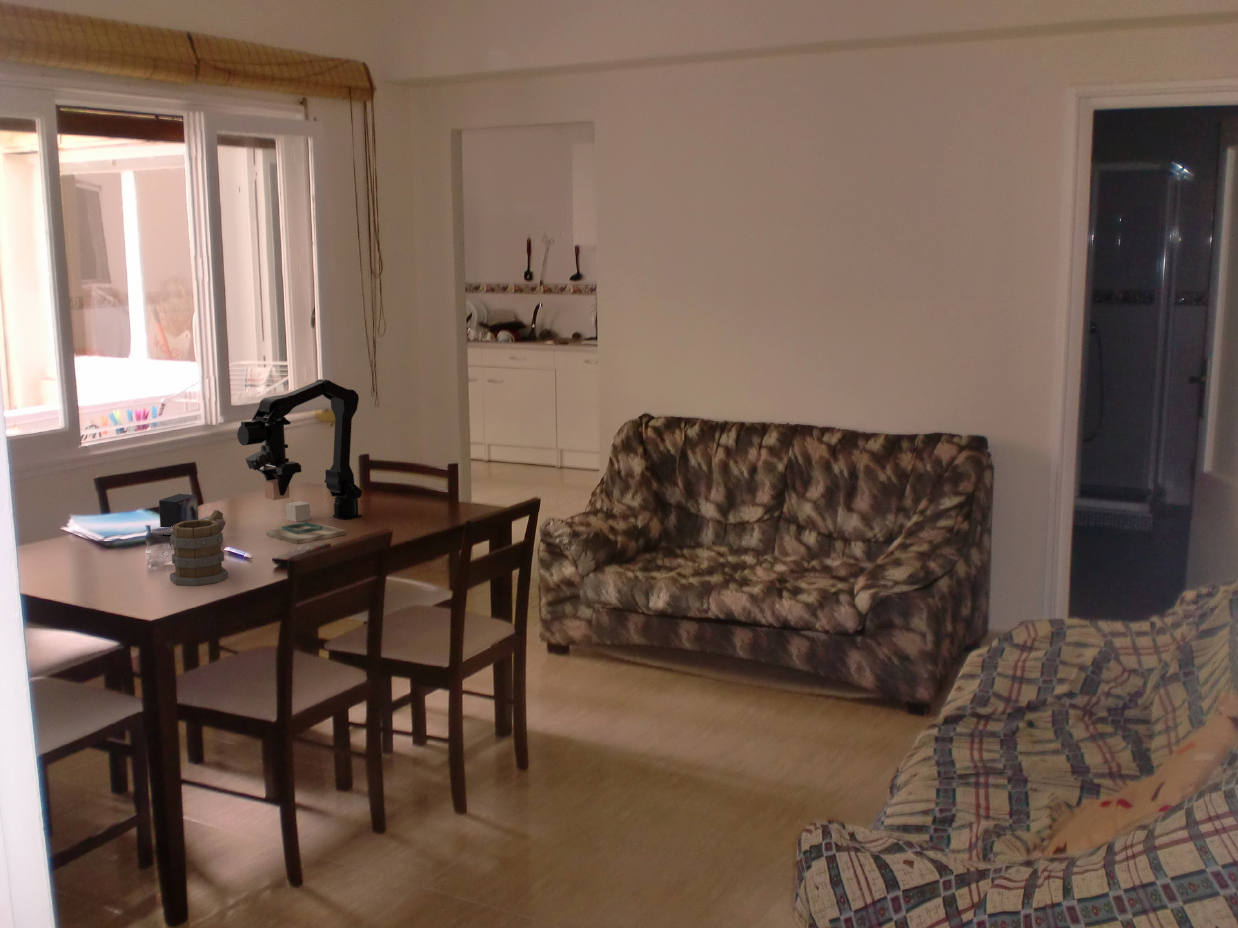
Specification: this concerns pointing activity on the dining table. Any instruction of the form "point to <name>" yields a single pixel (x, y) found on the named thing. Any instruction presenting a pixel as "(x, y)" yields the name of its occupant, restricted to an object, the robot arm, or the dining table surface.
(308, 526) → the base plate
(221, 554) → the tankard
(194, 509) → the small box
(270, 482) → the terracotta block
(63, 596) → the dining table surface
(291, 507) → the cream block
